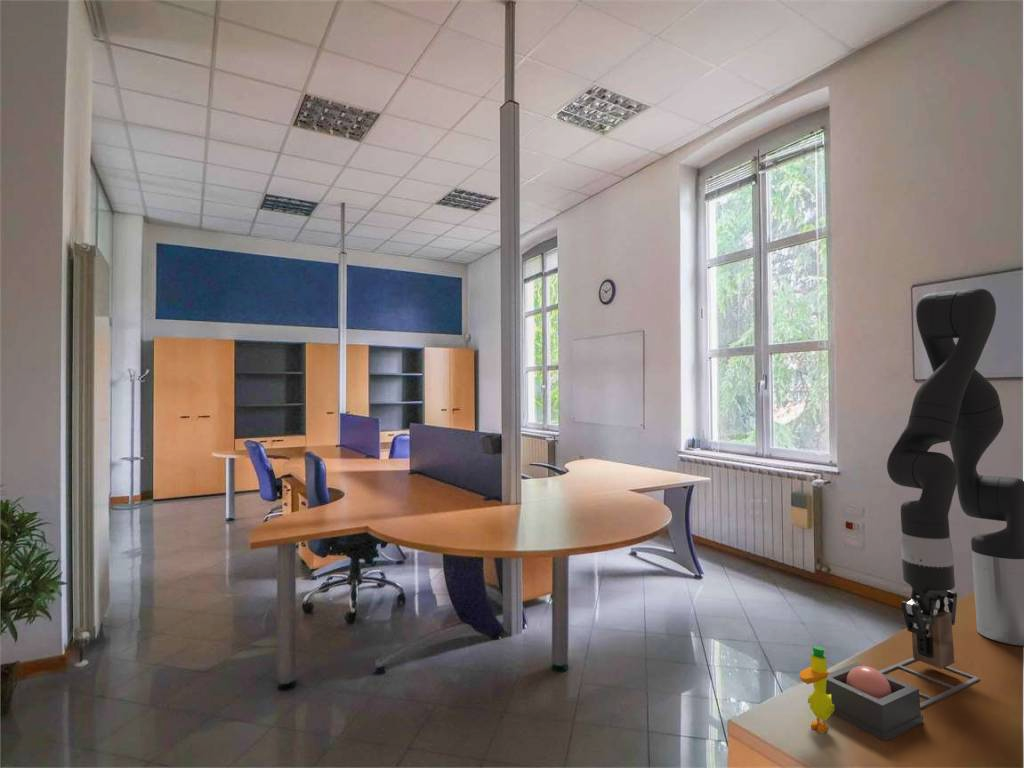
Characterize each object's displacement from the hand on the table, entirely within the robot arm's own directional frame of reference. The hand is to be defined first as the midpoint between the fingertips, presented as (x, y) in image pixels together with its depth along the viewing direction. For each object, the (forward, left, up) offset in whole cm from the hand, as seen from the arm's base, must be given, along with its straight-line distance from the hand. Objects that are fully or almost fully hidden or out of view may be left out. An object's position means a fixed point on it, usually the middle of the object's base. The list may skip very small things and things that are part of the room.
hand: (933, 652), depth 96 cm
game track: (+7, 0, -3) cm, 8 cm away
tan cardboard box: (0, 0, -2) cm, 2 cm away
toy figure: (+34, +1, -4) cm, 35 cm away
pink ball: (+24, +2, -2) cm, 24 cm away
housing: (+24, +2, -3) cm, 24 cm away
